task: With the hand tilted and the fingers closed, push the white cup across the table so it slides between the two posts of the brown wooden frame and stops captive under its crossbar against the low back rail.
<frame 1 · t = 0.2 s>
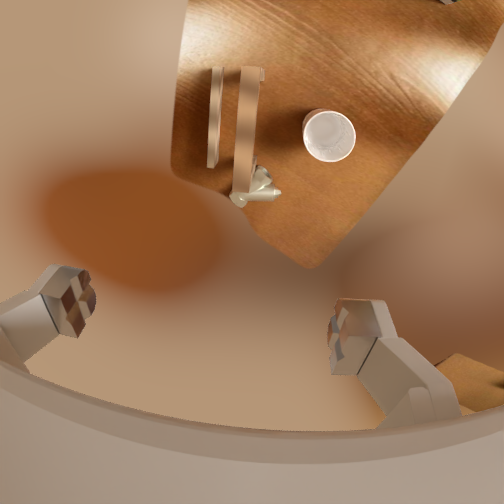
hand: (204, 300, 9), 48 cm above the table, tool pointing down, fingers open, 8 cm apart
pipe fitting: (257, 188, 58), on the table
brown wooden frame: (253, 117, 50), on the table
white cup: (321, 126, 50), on the table
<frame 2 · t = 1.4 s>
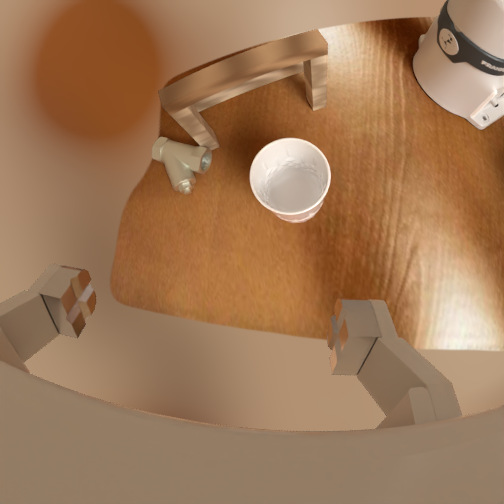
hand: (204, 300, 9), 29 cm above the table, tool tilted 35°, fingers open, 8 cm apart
pipe fitting: (182, 169, 42), on the table
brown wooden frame: (263, 120, 40), on the table
white cup: (295, 197, 39), on the table
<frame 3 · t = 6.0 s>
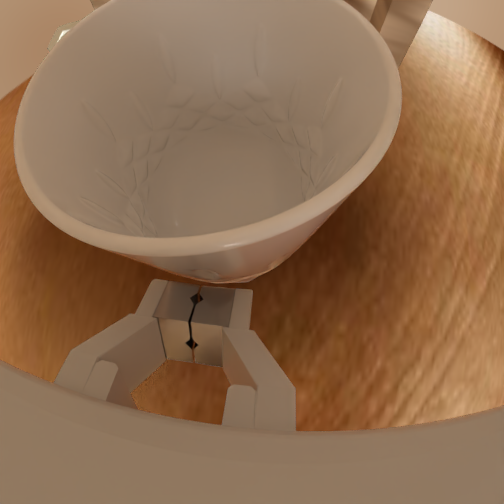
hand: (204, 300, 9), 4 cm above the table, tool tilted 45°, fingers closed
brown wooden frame: (253, 51, 17), on the table
white cup: (229, 214, 15), on the table, touching gripper
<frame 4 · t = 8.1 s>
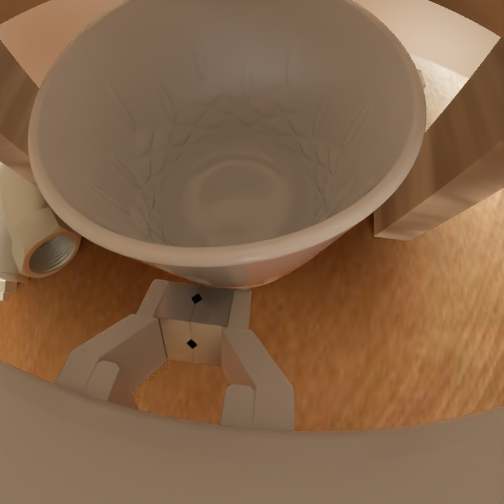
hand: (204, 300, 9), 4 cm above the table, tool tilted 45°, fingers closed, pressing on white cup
pipe fitting: (30, 230, 15), on the table
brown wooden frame: (233, 197, 15), on the table
white cup: (239, 219, 14), on the table, touching gripper
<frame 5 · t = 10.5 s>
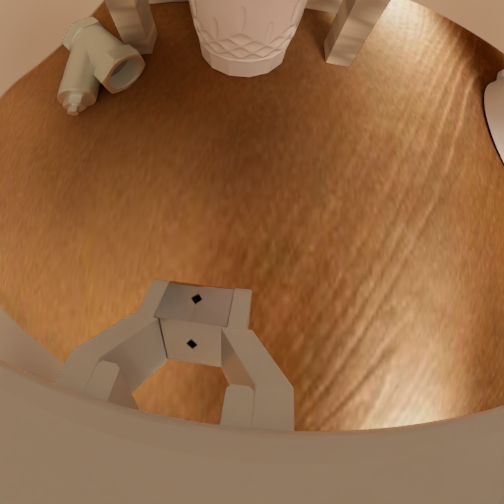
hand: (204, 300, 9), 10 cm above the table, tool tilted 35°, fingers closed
pipe fitting: (93, 78, 20), on the table
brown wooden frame: (239, 42, 20), on the table
white cup: (243, 48, 20), on the table
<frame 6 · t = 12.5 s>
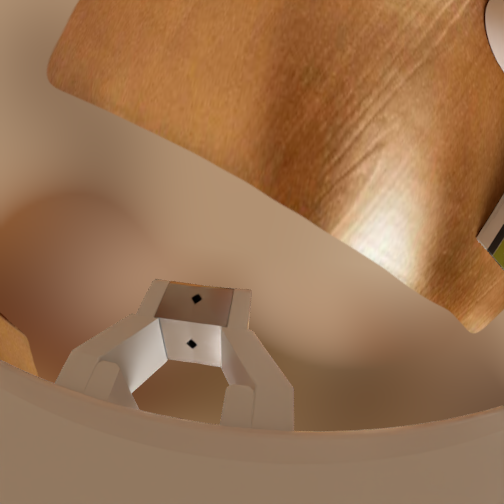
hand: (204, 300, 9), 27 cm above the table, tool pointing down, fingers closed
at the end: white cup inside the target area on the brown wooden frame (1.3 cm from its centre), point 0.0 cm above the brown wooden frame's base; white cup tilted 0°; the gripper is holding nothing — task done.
